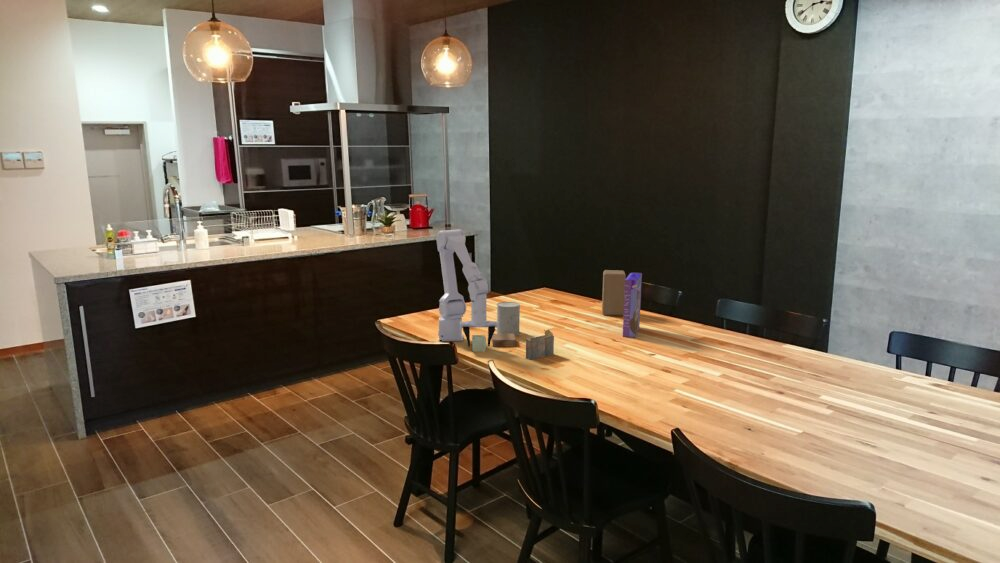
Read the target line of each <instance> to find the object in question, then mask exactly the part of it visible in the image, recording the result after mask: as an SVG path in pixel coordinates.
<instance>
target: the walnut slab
mask: <svg viewBox="0 0 1000 563" xmlns="http://www.w3.org/2000/svg"><path fill="white" fill-rule="evenodd" d="M491 342H492V343H491V344H492V346H493V347H516V346H517V338H516V335H514V333H506V334H497V333H494V334H493V336H492V338H491Z"/></svg>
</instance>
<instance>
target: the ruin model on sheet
mask: <svg viewBox="0 0 1000 563" xmlns="http://www.w3.org/2000/svg"><path fill="white" fill-rule="evenodd" d="M543 331H544V335H540V336H535V337H531V338H530V339H525V359H526V360H529V361H533V360H537V359H540V358H545V357H548V356H553V355H554V350H555V348H554V347H555V345H554V344H555V335H554V333H553V332H552V331H551V330H550V329H548V328H547V329H546V330H545V329H543Z"/></svg>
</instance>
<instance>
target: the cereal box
mask: <svg viewBox="0 0 1000 563" xmlns="http://www.w3.org/2000/svg"><path fill="white" fill-rule="evenodd" d="M642 277H643V273H642V272H630V273H629V274H628V275H627V277H626V279H625V293H624V315H623V316H622V317H623V320H622V322H623V323H622V337H623V338H631V339H634V338H636V336H637V333H638V331H639V329H640V321H641V320H640V319H641V304H642V303H641V302H642V283H643V282H642V279H643V278H642Z"/></svg>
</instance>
